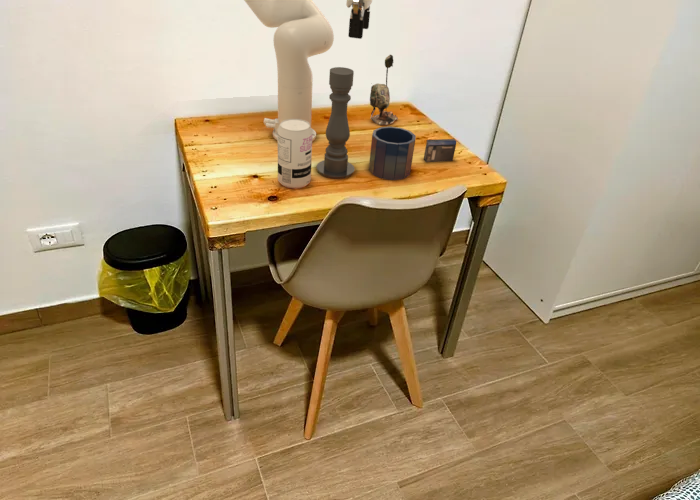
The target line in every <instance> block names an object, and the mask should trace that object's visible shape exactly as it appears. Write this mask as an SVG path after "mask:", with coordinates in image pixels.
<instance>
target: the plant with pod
mask: <svg viewBox="0 0 700 500" xmlns="http://www.w3.org/2000/svg"><path fill="white" fill-rule="evenodd" d="M384 66H385V68H386V70H385V71H386V74H385V76H386V77H385V83H375V84H372V83H371V84H372V86H371V87H370V94H369V105H370V107H372V110H371V115H370V117H369V119H370V120H371V121H372V122H373V123H375V124H377V125H380V126H388V125H391V124H393V123H394V122H395V121H397V120H399V118H398V116H397V114H394V113H393V111H391V110H390V111H388V110H387V109H388V108H389V106H390V101H391V96H390V88H389V87H388V74H389V73H388V72H389V69H390V68H391V67H392V68H393V67H394V56H393V55H392V54H389V55H388V56H386V57H385V59H384ZM376 108H377V109H378V112H379V113H378V114H376V115H375V113H376Z"/></svg>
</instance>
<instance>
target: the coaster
mask: <svg viewBox="0 0 700 500" xmlns="http://www.w3.org/2000/svg"><path fill="white" fill-rule="evenodd" d="M315 168H316V169H315V170H316V172H317V173H318V175H320V176H321V177H324V178H326V179H330V180H331V179H332V180H344V179H348V178H351V177H352V176H354V174H355V172H356V171H355V166H354V165H353V164H352V163H351V162H349V161H348V165H347V170H346V171H344V172H340V173H333V172H329V171H327V170H325V168H324V160H321V161H319V162H318V163H317V164H316V167H315Z"/></svg>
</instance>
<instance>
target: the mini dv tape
mask: <svg viewBox="0 0 700 500" xmlns="http://www.w3.org/2000/svg"><path fill="white" fill-rule="evenodd" d="M456 147H457V140H456V139H455V138H444V139H443V138H441V139H440V138H439V139H438V138H437V139H427V140H426V143H425V149H424V155H423V161H424V162H425V163H438V162H439V163H441V162H442V163H443V162H453V161H454V156H455V151H456Z"/></svg>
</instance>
